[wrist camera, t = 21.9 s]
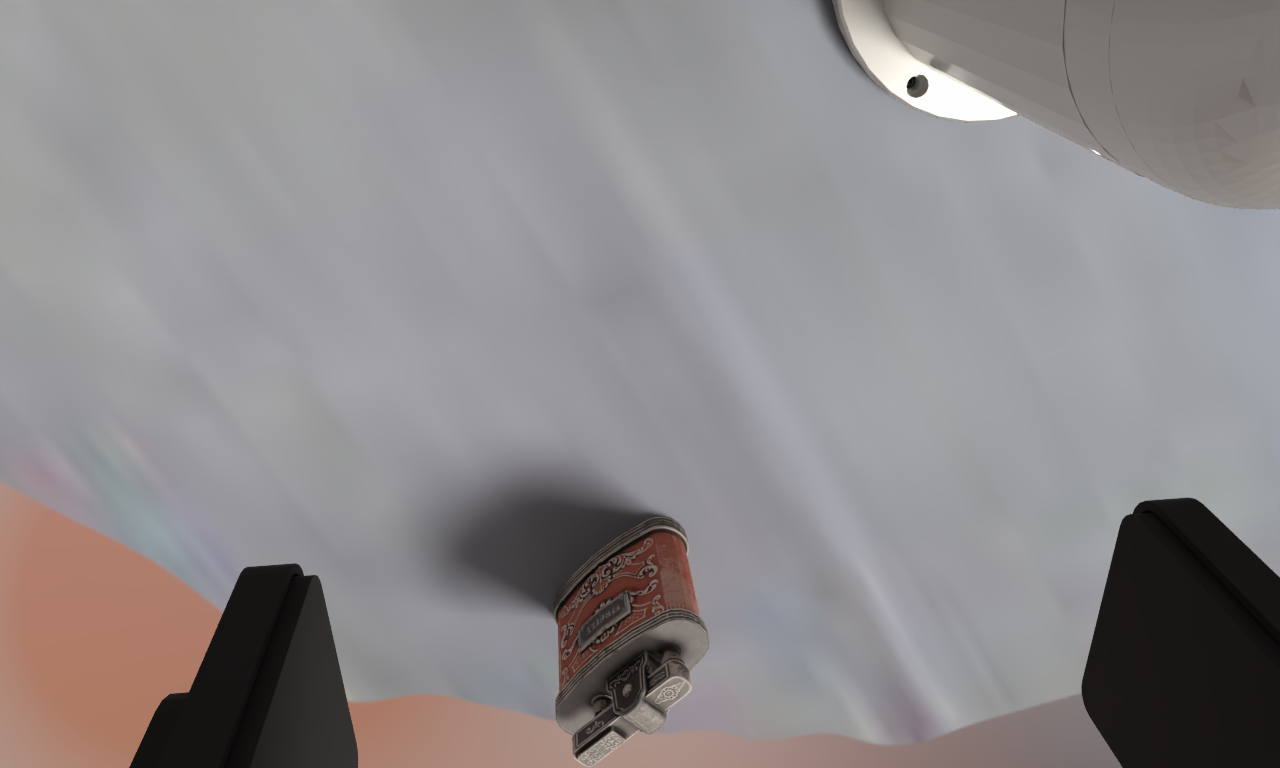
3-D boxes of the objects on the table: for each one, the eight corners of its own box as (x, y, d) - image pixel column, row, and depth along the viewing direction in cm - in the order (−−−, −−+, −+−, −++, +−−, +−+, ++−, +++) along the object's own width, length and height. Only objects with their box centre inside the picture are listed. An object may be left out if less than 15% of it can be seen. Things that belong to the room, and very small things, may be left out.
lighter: (655, 503, 47) (681, 648, 38) (701, 542, 49) (737, 691, 40) (538, 600, 49) (537, 759, 41) (585, 635, 51) (594, 797, 42)
